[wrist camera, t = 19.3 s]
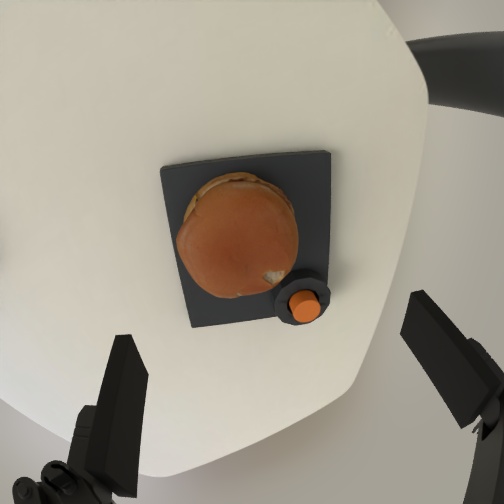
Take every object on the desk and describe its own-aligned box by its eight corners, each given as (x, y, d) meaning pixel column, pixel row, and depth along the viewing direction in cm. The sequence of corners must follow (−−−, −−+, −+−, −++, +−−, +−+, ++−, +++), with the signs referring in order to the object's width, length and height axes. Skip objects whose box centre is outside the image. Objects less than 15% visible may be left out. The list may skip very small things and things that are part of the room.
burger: (206, 155, 23) (206, 166, 19) (309, 197, 26) (328, 217, 22) (165, 260, 27) (159, 290, 23) (260, 290, 29) (269, 321, 25)
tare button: (315, 287, 29) (321, 298, 27) (314, 309, 30) (320, 320, 28) (288, 291, 28) (293, 302, 27) (288, 313, 30) (293, 324, 28)
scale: (325, 150, 26) (338, 156, 23) (321, 302, 33) (330, 319, 30) (161, 166, 24) (156, 174, 22) (192, 321, 32) (192, 340, 29)
